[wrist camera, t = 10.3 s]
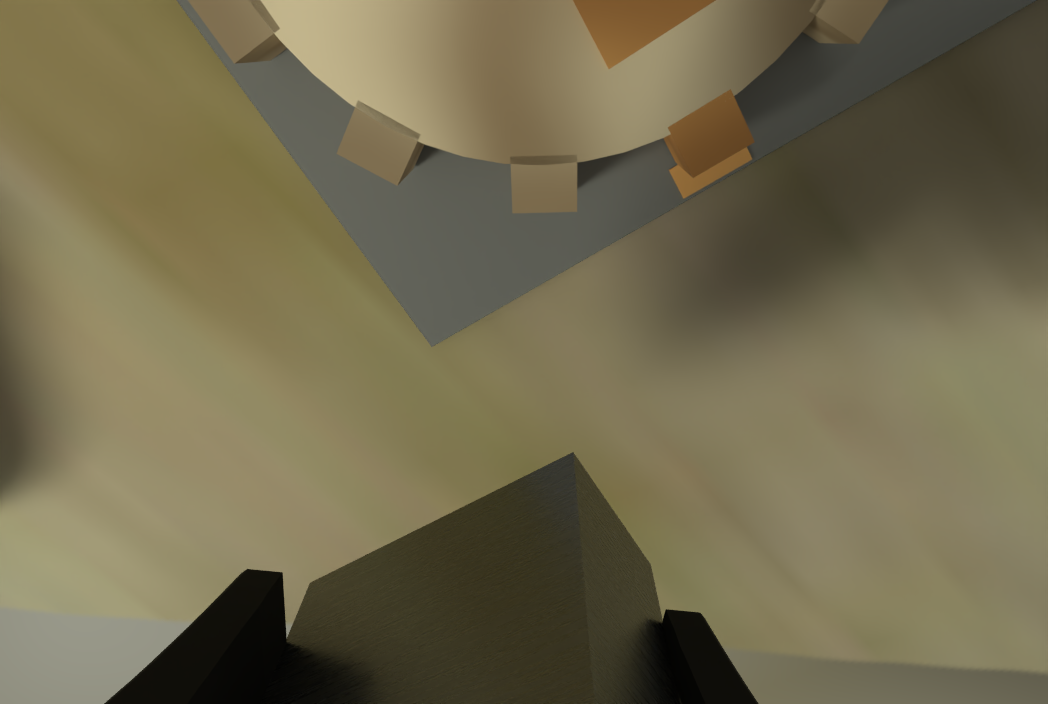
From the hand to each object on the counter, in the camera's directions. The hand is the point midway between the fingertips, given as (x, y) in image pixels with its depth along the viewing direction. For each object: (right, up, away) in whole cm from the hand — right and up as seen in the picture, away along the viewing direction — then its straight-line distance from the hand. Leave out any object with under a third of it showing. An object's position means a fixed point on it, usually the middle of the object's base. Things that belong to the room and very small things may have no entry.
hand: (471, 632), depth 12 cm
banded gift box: (0, +1, +1) cm, 1 cm away
